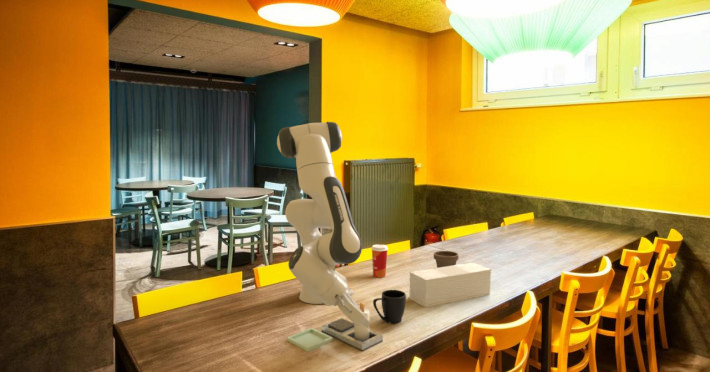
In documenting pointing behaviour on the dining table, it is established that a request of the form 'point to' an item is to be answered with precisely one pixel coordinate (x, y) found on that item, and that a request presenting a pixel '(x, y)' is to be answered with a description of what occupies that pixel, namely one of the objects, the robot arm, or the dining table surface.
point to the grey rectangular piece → (350, 334)
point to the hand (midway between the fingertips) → (364, 318)
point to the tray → (309, 339)
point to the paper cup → (379, 260)
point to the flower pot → (445, 258)
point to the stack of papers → (449, 284)
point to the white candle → (362, 326)
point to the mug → (392, 306)
